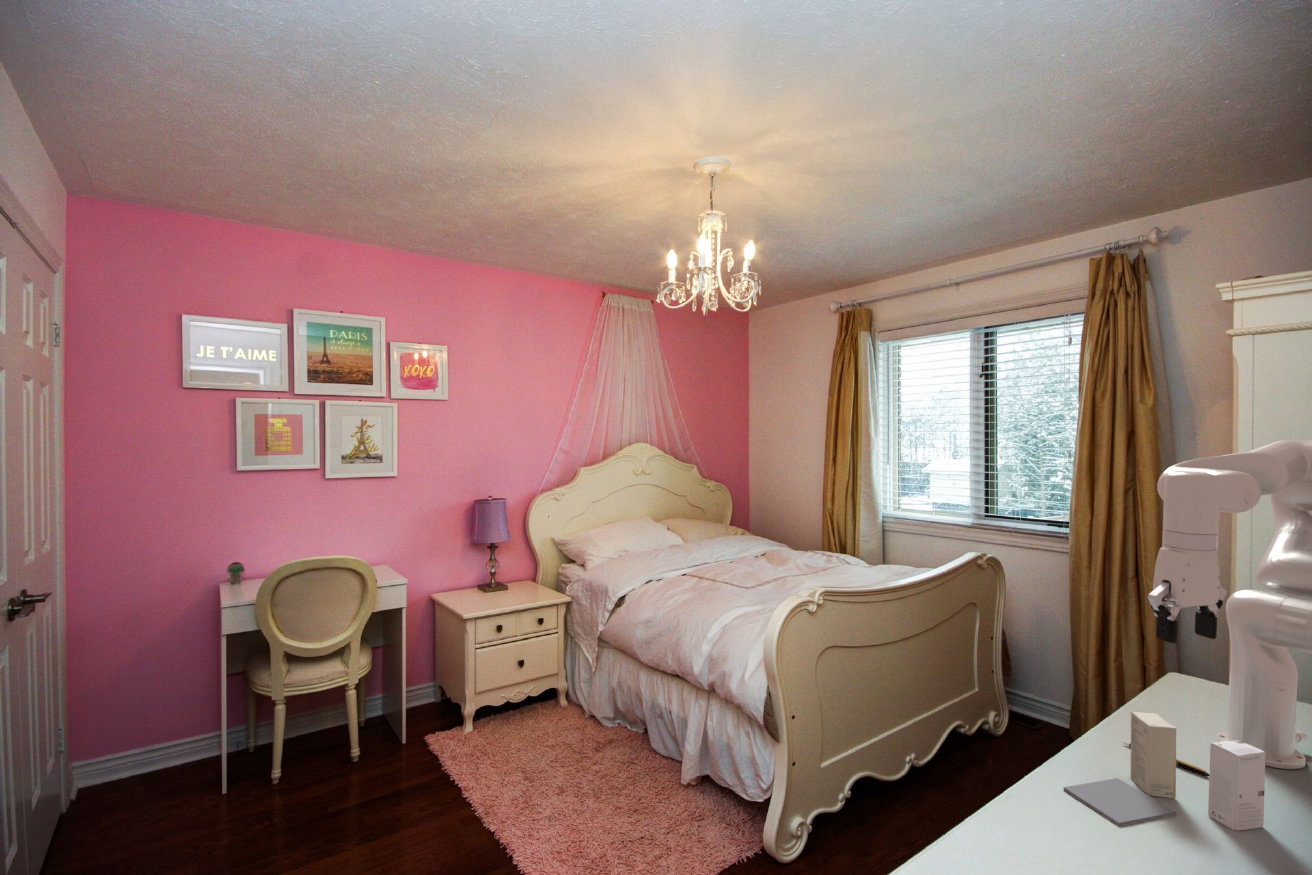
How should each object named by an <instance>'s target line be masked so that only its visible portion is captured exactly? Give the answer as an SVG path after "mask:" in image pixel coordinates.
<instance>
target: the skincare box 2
mask: <svg viewBox="0 0 1312 875" xmlns="http://www.w3.org/2000/svg"><path fill="white" fill-rule="evenodd" d="M1209 748H1210V749H1209V777H1208V778H1209V780H1208V782H1209V783H1208V784H1209V785H1208V802H1207V803H1208V807H1207V808H1208V809H1207V815H1208V816H1209V817H1211V818H1212V819H1213V820H1215V821H1216V822H1218V823H1220V824H1222V825H1224V826H1225V827H1227V828H1229V829H1230V830H1232V831H1245V830H1252V829H1253V830H1254V829H1257V828H1258V829H1260V828H1262V827H1264V824H1265V823H1264V821H1265V820H1264V819H1265V818H1264V816H1265V791H1266V790H1265V787H1266V786H1265V784H1266V782H1265V781H1266V765H1265V752H1264V751H1262V750H1260V749H1258V748H1255V747H1253V746H1251V745H1248V744H1246V743H1244V742H1241V741H1239V740H1236V741H1221V742H1217V741H1215V742H1210V747H1209Z"/></svg>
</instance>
